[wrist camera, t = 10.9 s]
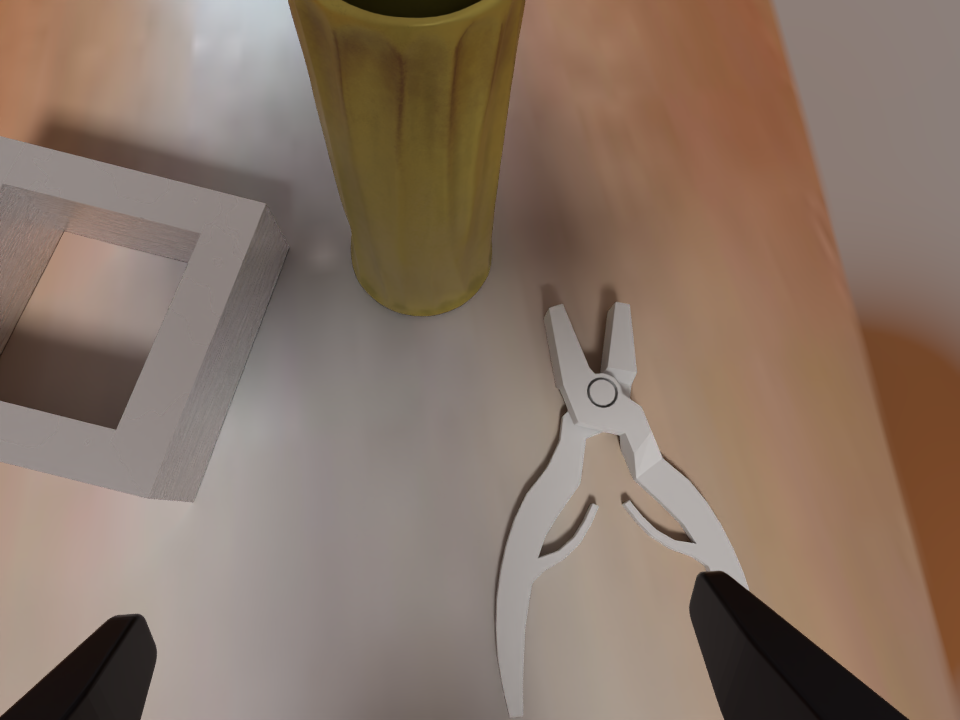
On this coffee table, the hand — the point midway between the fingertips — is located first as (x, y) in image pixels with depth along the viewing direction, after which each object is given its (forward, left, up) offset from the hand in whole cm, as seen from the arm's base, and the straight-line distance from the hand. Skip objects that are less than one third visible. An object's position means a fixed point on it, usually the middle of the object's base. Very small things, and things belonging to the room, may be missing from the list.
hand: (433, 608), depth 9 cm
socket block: (+5, +15, -13) cm, 20 cm away
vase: (+12, +4, -13) cm, 18 cm away
